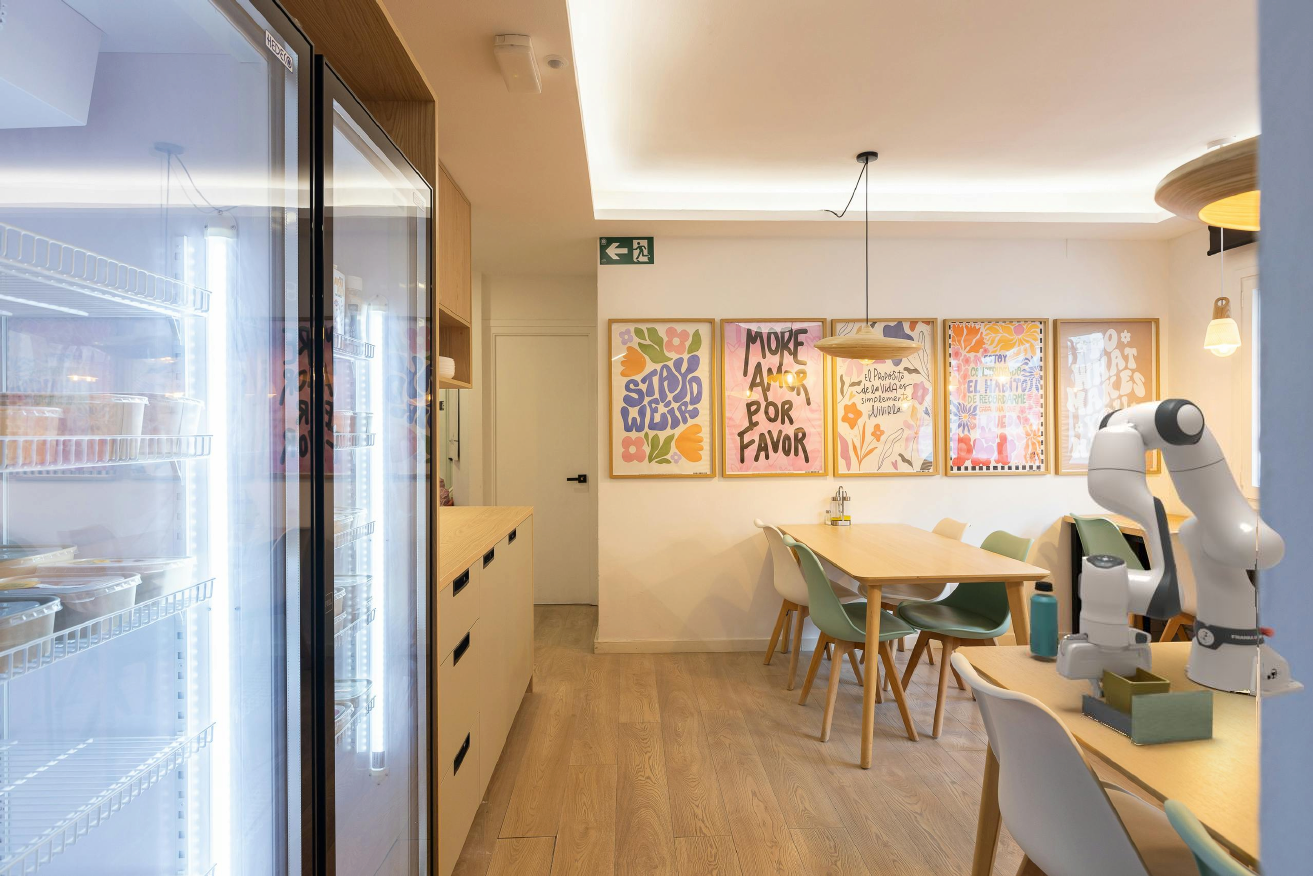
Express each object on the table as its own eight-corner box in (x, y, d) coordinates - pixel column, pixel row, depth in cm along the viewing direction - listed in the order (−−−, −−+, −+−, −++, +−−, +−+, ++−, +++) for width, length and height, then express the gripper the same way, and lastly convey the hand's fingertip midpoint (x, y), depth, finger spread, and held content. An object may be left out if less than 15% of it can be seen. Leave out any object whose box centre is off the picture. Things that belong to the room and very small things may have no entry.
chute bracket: (1146, 708, 143) (1146, 666, 143) (1212, 738, 129) (1213, 692, 129) (1076, 714, 140) (1077, 671, 140) (1137, 745, 126) (1137, 698, 126)
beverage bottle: (1062, 664, 170) (1063, 585, 170) (1033, 662, 171) (1034, 584, 171) (1052, 655, 176) (1053, 579, 176) (1025, 653, 178) (1026, 578, 177)
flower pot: (1171, 726, 135) (1172, 681, 134) (1130, 727, 134) (1131, 682, 134) (1135, 707, 143) (1136, 665, 143) (1097, 708, 142) (1098, 666, 142)
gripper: (1072, 639, 138) (1071, 705, 139) (1158, 635, 142) (1157, 700, 142) (1049, 630, 145) (1048, 694, 145) (1132, 626, 148) (1131, 689, 148)
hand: (1103, 697), depth 143 cm, fingers closed
